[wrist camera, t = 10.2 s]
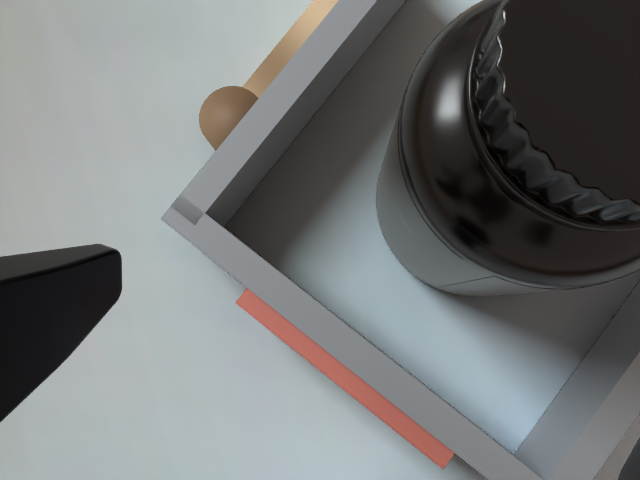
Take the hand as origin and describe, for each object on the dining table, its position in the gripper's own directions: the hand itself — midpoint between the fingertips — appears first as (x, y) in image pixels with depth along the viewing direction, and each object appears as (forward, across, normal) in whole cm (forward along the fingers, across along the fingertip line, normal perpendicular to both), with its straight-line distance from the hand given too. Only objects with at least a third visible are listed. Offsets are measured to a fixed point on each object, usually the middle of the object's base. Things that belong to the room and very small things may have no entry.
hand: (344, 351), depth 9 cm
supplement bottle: (+13, -1, +1) cm, 13 cm away
